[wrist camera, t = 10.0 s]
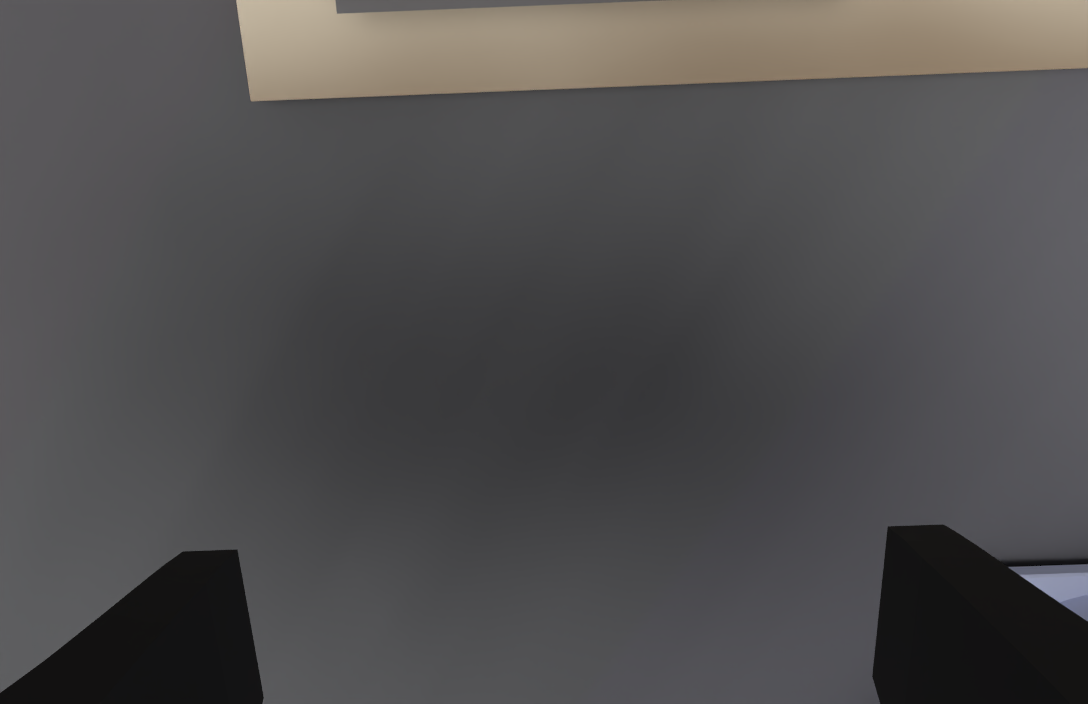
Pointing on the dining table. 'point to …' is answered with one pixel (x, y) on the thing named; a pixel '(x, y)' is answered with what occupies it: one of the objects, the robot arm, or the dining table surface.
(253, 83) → the rail
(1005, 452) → the dining table surface
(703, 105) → the dining table surface
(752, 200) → the dining table surface
